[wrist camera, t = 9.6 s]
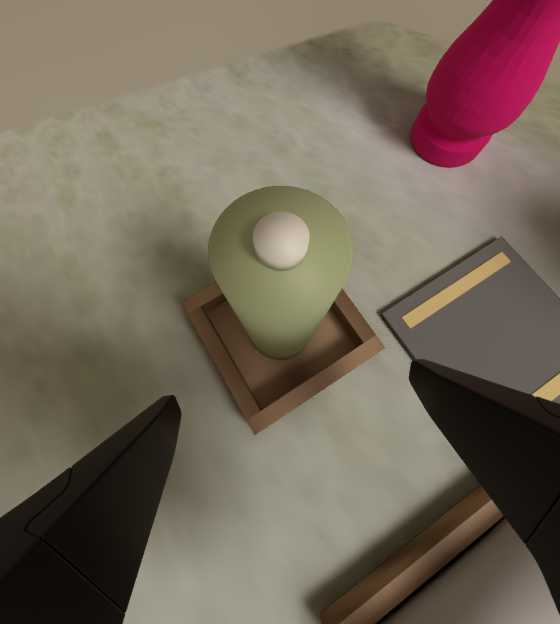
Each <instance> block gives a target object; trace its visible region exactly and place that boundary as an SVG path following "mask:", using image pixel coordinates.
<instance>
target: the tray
mask: <svg viewBox="0 0 560 624" xmlns="http://www.w3.org/2000/svg"><path fill="white" fill-rule="evenodd" d="M181 304H182V305H183V307H184V309H185V311H186V313H187V314H188V316H189V318H190V320H191V321H192V323H193V325H194V327H195V329H196V330H197V332H198V334H199V336H200V338H201V339H202V341H203V343H204V345H205V347H206V348H207V350H208V352H209V354H210V356H211V357H212V359H213V361H214V363H215V365H216V366H217V368H218V370H219V372H220V374H221V375H222V377H223V379H224V381H225V383H226V384H227V386H228V388H229V390H230V392H231V393H232V395H233V397H234V399H235V401H236V402H237V404H238V406H239V408H240V410H241V411H242V413H243V415H244V417H245V418H246V420H247V422H248V424H249V426H250V427H251V429H252V431H253V433H254V435H256V434H257V433H259V432H260V431H262V430H263V429H265V428H266V427H268V426H269V425H271V424H272V423H274V422H275V421H277V420H278V419H280V418H281V417H283V416H284V415H286V414H287V413H289V412H290V411H292V410H293V409H295V408H296V407H298V406H299V405H301V404H302V403H304V402H305V401H307V400H308V399H310V398H311V397H313V396H314V395H316V394H317V393H319V392H320V391H322V390H323V389H325V388H326V387H328V386H329V385H331V384H332V383H334V382H335V381H337V380H338V379H340V378H341V377H343V376H344V375H346V374H347V373H349V372H350V371H352V370H353V369H354V368H356V367H357V366H359V365H360V364H362V363H363V362H365V361H366V360H368V359H369V358H371V357H372V356H374V355H375V354H377V353H378V352H380V351H381V350H383V349H384V348H385V347H384V345H383V344H382V342H381V341H380V340H379V338H378V337H377V336H376V334H375V333H374V331H373V330H372V329H371V327H370V326H369V325H368V323H367V322H366V320H365V319H364V318H363V316H362V315H361V314H360V312H359V311H358V309H357V308H356V307H355V305H354V304H353V303H352V301H351V300H350V298H349V297H348V296H347V294H346V293H345V292H344V290H343V289H341V291H340V292H339V294H338V296H337V297H336V299H335V301H334V302H333V304H332V305H331V307H330V309H329V310H328V312H327V314H326V315H325V317H324V318H323V320H322V322H321V323H320V325H319V327H318V328H317V330H316V332H315V333H314V335H313V336H312V338H311V340H310V341H309V343H308V345H307V346H306V348H305V349H304V350H303V351H302V352H301V353H300V354H299V355H297V356H296V357H293V358H291V359H288V360H274V359H270V358H268V357H266V356H264V355H263V354H261V353H260V352H259V351H258V350H257V348H256V347H255V346H254V344H253V342H252V341H251V339H250V337H249V336H248V334H247V332H246V331H245V329H244V327H243V325H242V324H241V322H240V320H239V319H238V317H237V315H236V314H235V312H234V310H233V309H232V307H231V305H230V304H229V302H228V300H227V299H226V297H225V295H224V294H223V292H222V290H221V289H220V287H219V285H218V284H217V282H215V283H213V284H212V285H210V286H208V287H206V288H204V289H203V290H201V291H199V292H197V293H196V294H194V295H192V296H190V297H189V298H187V299H185V300H183V301H182V302H181Z"/></svg>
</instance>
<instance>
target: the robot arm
mask: <svg viewBox="0 0 560 624" xmlns="http://www.w3.org/2000/svg"><path fill="white" fill-rule="evenodd" d="M409 381H410V383H411V385H412V387H413V389H414V390H415V392H416V394H417V396H418V397H419V399H420V401H421V402H422V404H423V406H424V408H425V409H426V411H427V413H428V414H429V416H430V417H431V418H432V420H433V421H434V423H435V424H436V425H437V427H438V428H439V429H440V431H441V432H442V433H443V435H444V436H445V437H446V439H447V440H448V441H449V443H450V444H451V446H452V447H453V448H454V450H455V451H456V452H457V454H458V455H459V456H460V458H461V459H462V460H463V462H464V463H465V464H466V466H467V467H468V469H469V470H470V471H471V473H472V474H473V475H474V477H475V478H476V479H477V481H478V482H479V483H480V485H481V486H482V487H483V489H484V490H485V492H486V493H487V494H488V496H489V497H490V498H491V500H492V501H493V502H494V504H495V505H496V506H497V508H498V509H499V510H500V512H501V513H502V515H503V516H504V517H505V519H506V520H507V521H508V523H509V524H510V525H511V527H512V528H513V529H514V531H515V532H516V533H517V535H518V536H519V538H520V539H521V540H522V542H523V543H524V544H526V547H527V548H528V550H529V551H530V553H531V554H532V556H533V557H534V559H535V561H536V562H537V564H538V566H539V568H540V570H541V572H542V574H543V577H544V579H545V581H546V584H547V586H548V589H549V591H550V594H551V596H552V598H553V601H554V603H555V606H556V608H557V610H558V613H559V615H560V404H559V403H556V402H553V401H550V400H547V399H544V398H541V397H538V396H536V397H535V396H533V395H531V394H528V393H525V392H522V391H519V390H516V389H513V388H510V387H507V386H504V385H501V384H498V383H495V382H492V381H489V380H486V379H483V378H480V377H477V376H474V375H471V374H468V373H465V372H462V371H459V370H456V369H453V368H450V367H447V366H444V365H441V364H438V363H435V362H432V361H429V360H426V359H416V360H413V361H412V362H411V367H410V372H409ZM180 421H181V410H180V407H179V405H178V402H177V400H176V397H175V396H174V395H168V396H163V397H161V398H160V399H159V400H157V401H156V402H155V403H154V404H152V405H151V406H150V407H148V408H147V409H146V410H144V411H143V412H142V413H140V414H139V415H138V416H137V417H135V418H134V419H133V420H131V421H130V422H129V423H127V424H126V425H125V426H124V427H122V428H121V429H120V430H118V431H117V432H116V433H114V434H113V435H112V436H110V437H109V438H108V439H107V440H105V441H104V442H103V443H101V444H100V445H99V446H97V447H96V448H95V449H93V450H92V451H91V452H90V453H88V454H87V455H86V456H84V457H83V458H82V459H80V460H79V461H78V462H76V463H75V464H74V465H73V466H72V468H68V469H67V470H65V471H64V472H63V473H62V474H60V475H59V476H58V477H56V478H55V479H54V480H52V481H51V482H50V483H48V484H47V485H46V486H44V487H43V488H42V489H40V490H39V491H37V492H36V493H35V494H33V495H32V496H30V497H29V498H28V499H26V500H25V501H23V502H22V503H21V504H19V505H18V506H16V507H15V508H13V509H12V510H11V511H9V512H8V513H6V514H5V515H3V516H2V517H1V518H0V624H123V620H124V617H125V612H126V610H127V607H128V604H129V600H130V597H131V594H132V591H133V587H134V584H135V581H136V578H137V574H138V571H139V568H140V565H141V561H142V558H143V555H144V551H145V548H146V545H147V542H148V538H149V535H150V532H151V529H152V525H153V522H154V519H155V516H156V512H157V509H158V506H159V503H160V499H161V496H162V493H163V489H164V486H165V483H166V480H167V476H168V473H169V470H170V467H171V463H172V460H173V457H174V453H175V448H176V443H177V437H178V432H179V426H180Z"/></svg>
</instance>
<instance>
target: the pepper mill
mask: <svg viewBox="0 0 560 624" xmlns="http://www.w3.org/2000/svg"><path fill="white" fill-rule="evenodd" d="M559 42H560V0H493V1H492V2H491V3H490V4H489V5H488V7H487V8H486V9H485V10H484V11H483V12H482V13H481V15H479V16H478V18H477V19H476V20H475V21H474V22H473V23H472V24H471V25H470V26H469V27H468V28H467V29H466V30H465V31H464V32H463V33H462V34H461V35H460V36H459V37H458V38H457V39H456V40H455V41H454V43H453V44H452V45H451V46H450V48H449V49H448V50H447V52H446V53H445V54H444V55H443V57H442V58H441V60H440V61H439V63H438V65H437V67H436V68H435V70H434V72H433V74H432V75H431V78H430V80H429V82H428V86H427V92H426V98H427V103H426V104H425V105H424V106H423V108H422V109H421V111H420V113H419V115H418V117H417V119H416V121H415V122H414V124H413V127H412V130H411V141H412V144H413V146H414V148H415V150H416V151H417V153H418V154H419V155H420V156H421V157H423V158H424V159H425V160H427V161H428V162H430V163H433V164H436V165H438V166H443V167H458V166H461V165H464V164H467V163H469V162H470V161H472V160H473V159H474V158H475V157H476V156H477V155H478V154H479V152H480V151H481V150H482V149H483V148H484V147H485V145H486V144H487V143H488V142H489V140H490V139H491V136H492V134H494V133H497V132H499V131H501V130H503V129H505V128H506V127H508V126H509V125H510V124H512V123H513V122H514V121H515V120H516V119H517V118H518V117H519V116H520V115H521V114H522V112H523V111H524V110H525V108H526V107H527V106H528V104H529V103H530V102H531V100H532V99H533V97H534V96H535V94H536V92H537V90H538V89H539V87H540V85H541V83H542V82H543V80H544V77H545V75H546V73H547V70H548V68H549V65H550V63H551V61H552V58H553V56H554V53H555V51H556V49H557V46H558V44H559Z"/></svg>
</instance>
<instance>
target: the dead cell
mask: <svg viewBox="0 0 560 624" xmlns="http://www.w3.org/2000/svg"><path fill="white" fill-rule="evenodd" d="M381 624H560V615H559V613H558V610H557V608H556V606H555V603H554V601H553V598H552V596H551V594H550V591H549V589H548V586H547V584H546V581H545V579H544V577H543V574H542V572H541V570H540V568H539V566H538V564H537V562H536V561H535V559H534V557H533V556H532V554H531V553H530V551H529V550H528V548H527V547H526V544H524V543H523V542H522V540H521V539H520V538H519V536H518V535H517V533H516V532H515V531H514V529H513V528H512V527H511V525H510V524H509V523H508V521H507V520H506V519H504V520H503V521H502V522H501V523H500V524H498V525H497V526H496V527H495V528H494V529H493V530H491V531H490V532H489V533H488V534H487V535H485V536H484V537H483V538H482V539H481V540H479V541H478V542H477V543H476V544H475V545H473V546H472V547H471V548H470V549H469V550H468V551H466V552H465V553H464V554H463V555H462V556H460V557H459V558H458V559H457V560H456V561H454V562H453V563H452V564H451V565H450V566H448V567H447V568H446V569H445V570H444V571H443V572H441V573H440V574H439V575H438V576H437V577H435V578H434V579H433V580H432V581H431V582H429V583H428V584H427V585H426V586H425V587H423V588H422V589H421V590H420V591H419V592H418V593H416V594H415V595H414V596H413V597H412V598H410V599H409V600H408V601H407V602H406V603H404V604H403V605H402V606H401V607H400V608H398V609H397V610H396V611H395V612H394V613H393V614H391V615H390V616H389V617H388V618H387V619H385V620H384V621H383V622H382V623H381Z"/></svg>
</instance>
